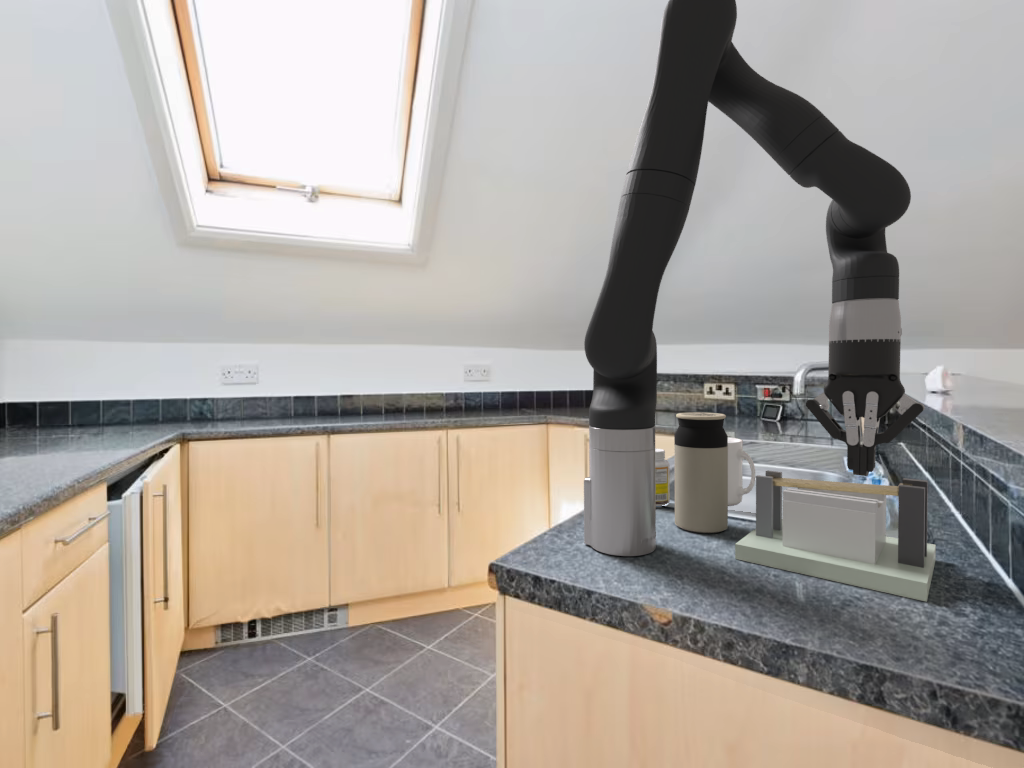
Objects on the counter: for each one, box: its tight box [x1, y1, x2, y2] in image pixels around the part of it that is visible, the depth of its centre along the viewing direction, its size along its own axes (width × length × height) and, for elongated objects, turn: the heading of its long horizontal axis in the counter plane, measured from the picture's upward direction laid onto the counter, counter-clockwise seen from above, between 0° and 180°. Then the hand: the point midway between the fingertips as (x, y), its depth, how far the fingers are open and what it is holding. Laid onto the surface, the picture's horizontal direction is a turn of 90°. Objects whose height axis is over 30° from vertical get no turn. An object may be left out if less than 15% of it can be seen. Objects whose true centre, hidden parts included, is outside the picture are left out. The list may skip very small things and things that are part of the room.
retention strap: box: [769, 475, 912, 497], centre depth 69 cm, size 17×3×1 cm, turn 48°
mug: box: [728, 436, 756, 507], centre depth 99 cm, size 10×12×12 cm
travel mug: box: [673, 411, 729, 534], centre depth 84 cm, size 8×8×18 cm
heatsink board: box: [734, 470, 937, 602], centre depth 69 cm, size 20×16×11 cm
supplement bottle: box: [655, 448, 671, 506], centre depth 98 cm, size 6×6×10 cm
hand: (861, 474), depth 67 cm, fingers closed
